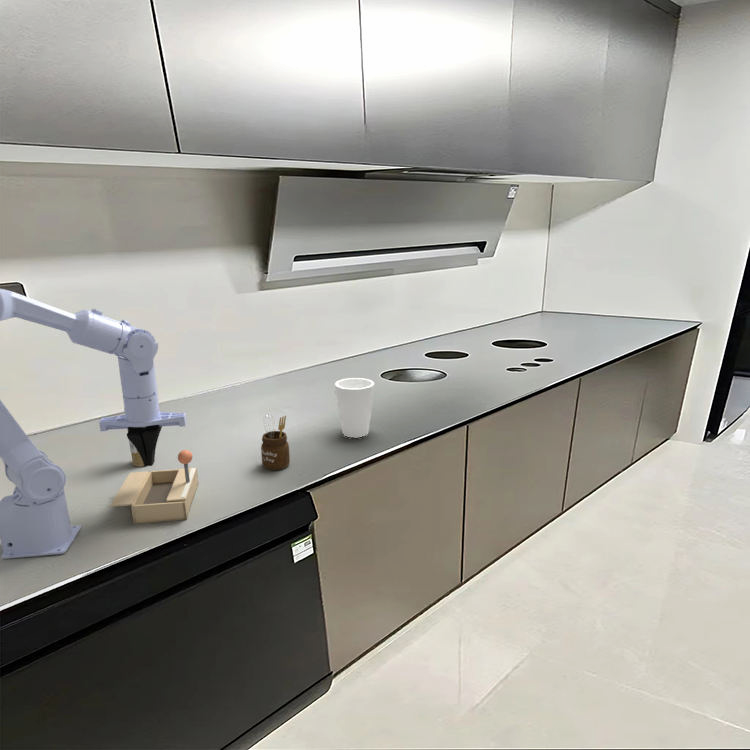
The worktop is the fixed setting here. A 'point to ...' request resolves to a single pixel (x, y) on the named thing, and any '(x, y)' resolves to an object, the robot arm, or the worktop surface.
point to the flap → (182, 478)
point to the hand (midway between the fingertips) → (149, 463)
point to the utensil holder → (275, 448)
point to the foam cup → (354, 405)
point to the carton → (154, 496)
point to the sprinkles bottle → (135, 454)
